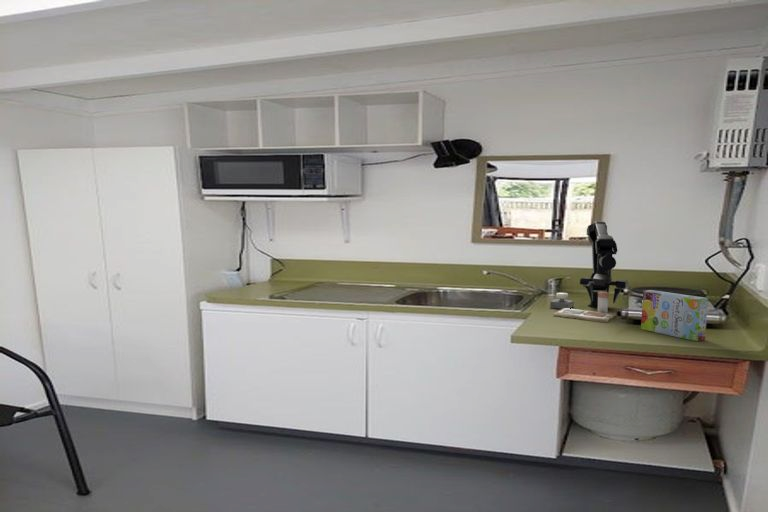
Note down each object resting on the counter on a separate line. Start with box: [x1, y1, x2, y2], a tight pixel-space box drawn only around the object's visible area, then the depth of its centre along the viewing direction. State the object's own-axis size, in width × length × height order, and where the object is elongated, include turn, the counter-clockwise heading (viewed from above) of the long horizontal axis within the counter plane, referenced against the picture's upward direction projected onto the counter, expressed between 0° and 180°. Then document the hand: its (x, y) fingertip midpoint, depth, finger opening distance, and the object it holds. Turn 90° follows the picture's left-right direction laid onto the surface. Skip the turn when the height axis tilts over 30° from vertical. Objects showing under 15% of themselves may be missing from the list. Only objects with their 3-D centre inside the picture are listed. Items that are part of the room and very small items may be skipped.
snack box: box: [640, 289, 709, 342], centre depth 183 cm, size 21×6×15 cm, turn 30°
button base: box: [549, 298, 575, 310], centre depth 233 cm, size 8×8×3 cm
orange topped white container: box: [596, 292, 609, 313], centre depth 221 cm, size 4×4×9 cm
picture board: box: [553, 308, 616, 323], centre depth 215 cm, size 15×21×1 cm
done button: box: [555, 292, 569, 302], centre depth 232 cm, size 5×5×5 cm
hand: (602, 302), depth 221 cm, fingers open, 9 cm apart
